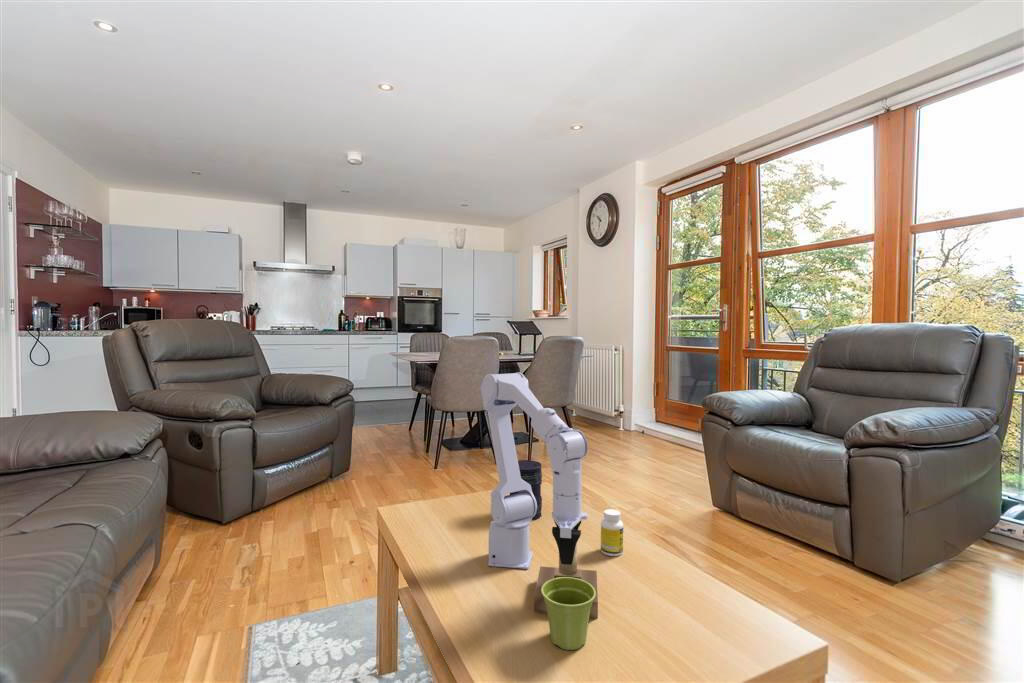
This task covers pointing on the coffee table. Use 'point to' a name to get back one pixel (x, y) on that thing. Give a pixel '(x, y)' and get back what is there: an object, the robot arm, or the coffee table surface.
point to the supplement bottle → (612, 533)
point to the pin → (569, 569)
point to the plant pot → (568, 610)
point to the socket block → (553, 572)
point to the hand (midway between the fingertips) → (567, 558)
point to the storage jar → (532, 481)
